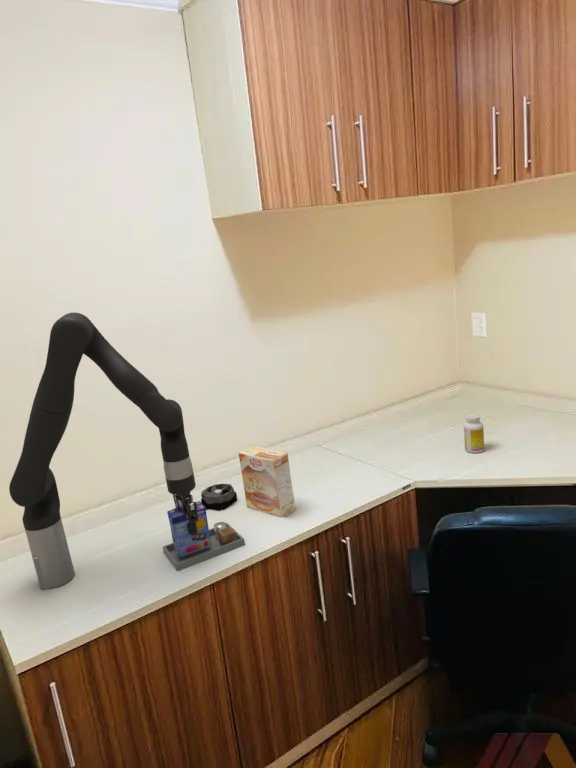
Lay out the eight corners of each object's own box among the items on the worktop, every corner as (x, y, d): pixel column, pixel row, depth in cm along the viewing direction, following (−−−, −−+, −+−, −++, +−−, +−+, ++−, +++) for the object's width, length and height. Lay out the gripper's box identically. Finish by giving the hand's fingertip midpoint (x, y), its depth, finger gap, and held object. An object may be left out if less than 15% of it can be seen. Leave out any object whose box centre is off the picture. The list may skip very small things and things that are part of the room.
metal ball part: (218, 541, 168) (216, 529, 167) (213, 537, 171) (211, 524, 170) (230, 537, 170) (227, 525, 169) (225, 532, 173) (223, 520, 172)
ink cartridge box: (179, 558, 160) (169, 510, 156) (173, 550, 164) (164, 503, 161) (213, 546, 164) (204, 499, 160) (206, 538, 168) (198, 492, 165)
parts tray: (177, 573, 156) (176, 564, 156) (164, 554, 166) (162, 546, 166) (245, 546, 165) (244, 538, 164) (228, 530, 175) (227, 522, 175)
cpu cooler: (239, 484, 193) (220, 498, 185) (241, 500, 194) (223, 514, 186) (214, 481, 198) (195, 494, 190) (217, 496, 200) (198, 510, 192)
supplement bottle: (488, 449, 209) (487, 415, 205) (476, 455, 205) (474, 420, 202) (473, 445, 214) (471, 411, 211) (461, 450, 211) (459, 417, 207)
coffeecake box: (246, 509, 187) (237, 452, 182) (261, 500, 192) (253, 444, 188) (281, 520, 178) (272, 460, 173) (296, 510, 183) (288, 451, 178)
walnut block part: (225, 549, 164) (222, 536, 163) (219, 543, 167) (217, 531, 166) (238, 544, 166) (235, 531, 164) (232, 538, 169) (230, 526, 168)
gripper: (201, 477, 154) (211, 534, 158) (183, 461, 166) (193, 515, 170) (174, 485, 150) (185, 544, 155) (157, 469, 163) (168, 524, 167)
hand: (189, 529), depth 162 cm, fingers closed on ink cartridge box, 5 cm apart
